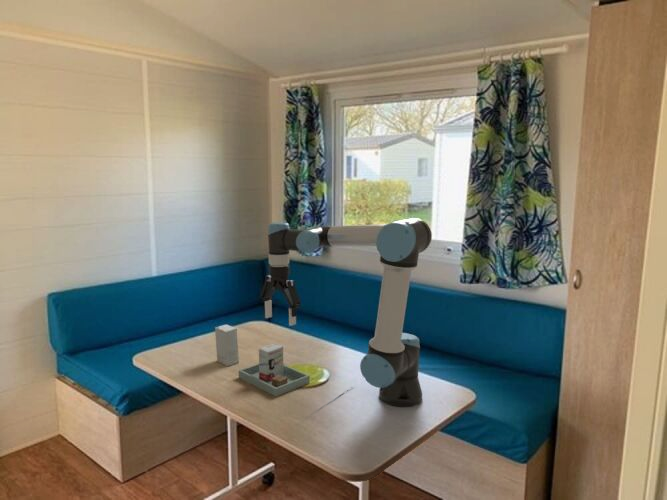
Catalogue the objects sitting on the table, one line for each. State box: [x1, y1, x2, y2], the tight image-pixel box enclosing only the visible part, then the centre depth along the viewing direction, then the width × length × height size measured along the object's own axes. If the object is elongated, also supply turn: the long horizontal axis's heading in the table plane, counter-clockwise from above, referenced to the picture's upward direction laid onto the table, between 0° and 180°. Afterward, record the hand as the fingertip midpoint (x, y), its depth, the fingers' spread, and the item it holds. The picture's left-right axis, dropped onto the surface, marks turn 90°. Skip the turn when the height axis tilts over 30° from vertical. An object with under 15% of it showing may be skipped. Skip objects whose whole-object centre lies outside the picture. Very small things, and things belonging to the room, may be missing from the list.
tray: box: [238, 363, 311, 397], centre depth 187 cm, size 22×16×4 cm
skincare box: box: [214, 323, 240, 367], centre depth 205 cm, size 8×6×15 cm
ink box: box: [258, 343, 284, 382], centre depth 189 cm, size 9×5×12 cm, turn 140°
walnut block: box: [272, 375, 288, 387], centre depth 180 cm, size 4×4×4 cm
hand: (280, 321), depth 186 cm, fingers open, 13 cm apart
